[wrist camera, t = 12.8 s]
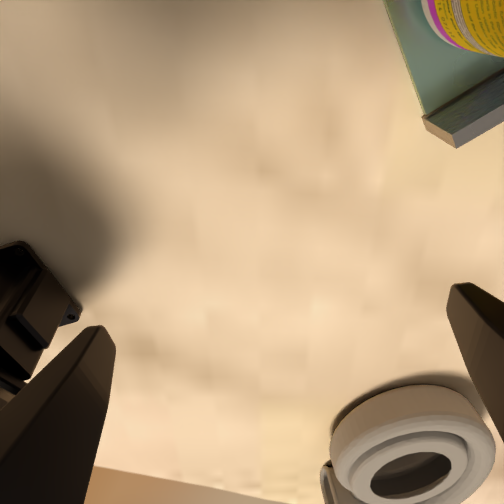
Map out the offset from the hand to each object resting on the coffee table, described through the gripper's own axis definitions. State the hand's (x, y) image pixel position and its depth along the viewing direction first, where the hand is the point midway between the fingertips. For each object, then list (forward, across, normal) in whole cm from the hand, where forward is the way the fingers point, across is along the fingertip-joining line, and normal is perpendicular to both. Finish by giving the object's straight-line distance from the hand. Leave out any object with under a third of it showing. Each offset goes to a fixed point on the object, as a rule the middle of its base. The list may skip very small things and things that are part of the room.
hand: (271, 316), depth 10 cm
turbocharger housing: (+13, -9, +32) cm, 36 cm away
